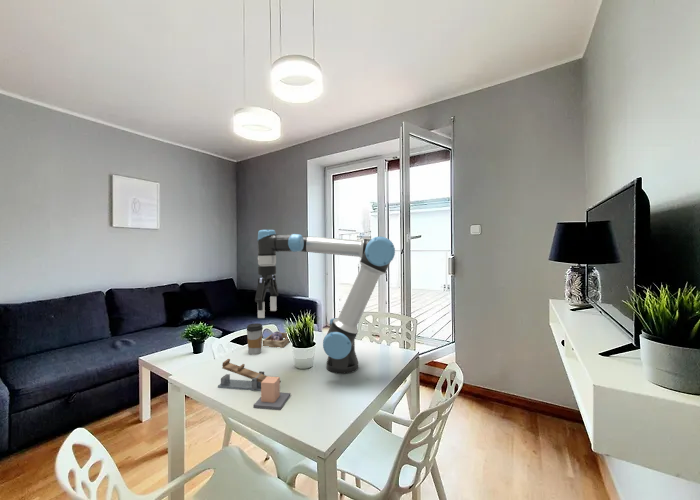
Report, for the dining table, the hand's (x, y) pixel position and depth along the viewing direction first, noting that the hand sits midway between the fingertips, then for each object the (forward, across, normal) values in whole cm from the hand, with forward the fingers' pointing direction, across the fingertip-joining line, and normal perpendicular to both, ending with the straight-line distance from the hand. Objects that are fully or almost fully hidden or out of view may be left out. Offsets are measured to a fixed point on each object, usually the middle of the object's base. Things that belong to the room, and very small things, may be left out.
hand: (267, 314), depth 128 cm
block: (+27, +19, +9) cm, 34 cm away
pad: (+28, +19, +9) cm, 35 cm away
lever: (+23, +9, -4) cm, 25 cm away
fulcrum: (+28, +9, -6) cm, 29 cm away
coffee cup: (+28, -28, -19) cm, 44 cm away
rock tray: (+28, -46, -12) cm, 55 cm away
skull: (+28, -44, -13) cm, 54 cm away
